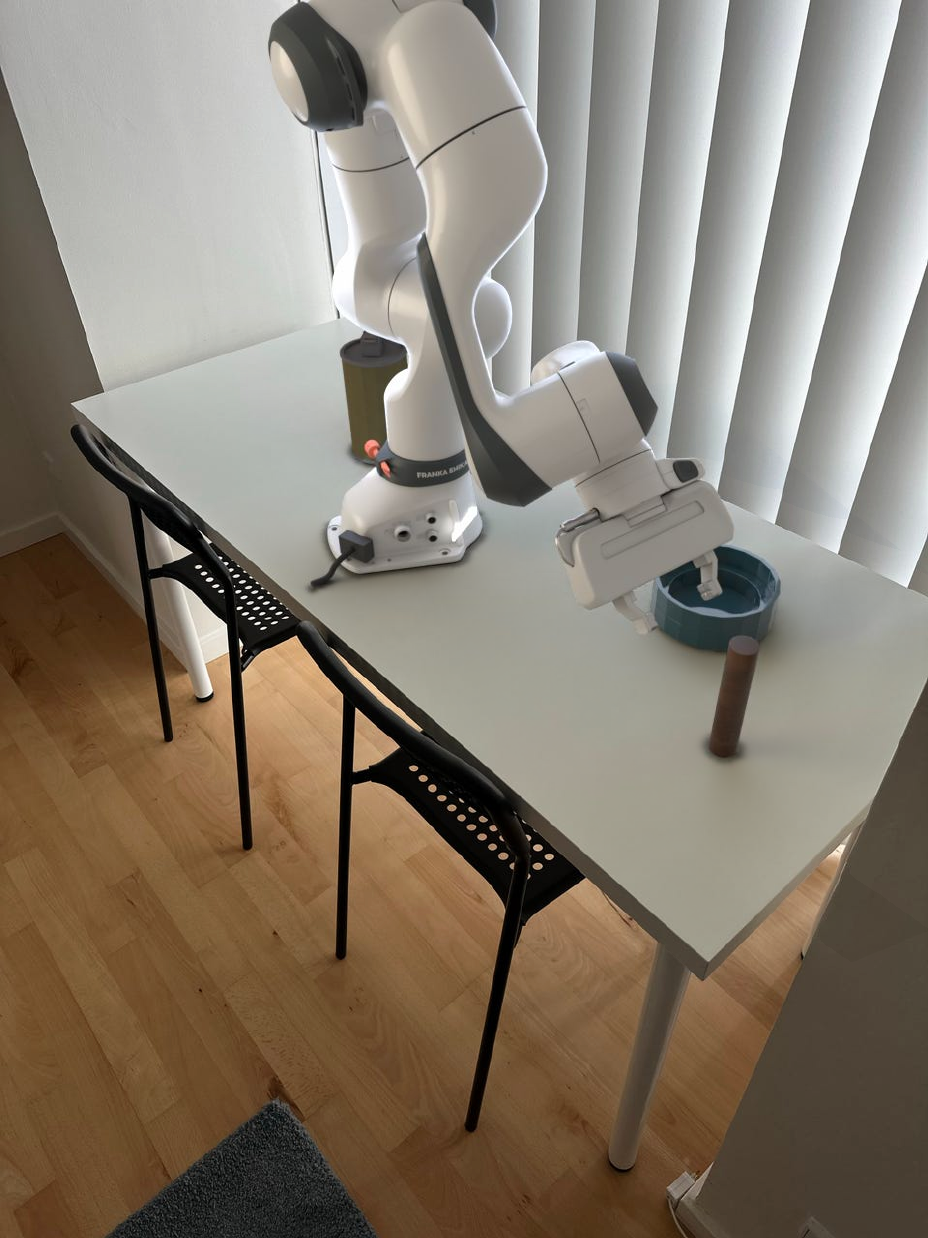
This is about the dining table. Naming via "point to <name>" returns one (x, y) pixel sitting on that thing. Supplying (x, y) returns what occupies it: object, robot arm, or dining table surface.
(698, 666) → the dining table surface
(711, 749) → the stick
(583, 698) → the dining table surface
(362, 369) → the canister
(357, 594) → the dining table surface
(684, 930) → the dining table surface
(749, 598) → the bowl
